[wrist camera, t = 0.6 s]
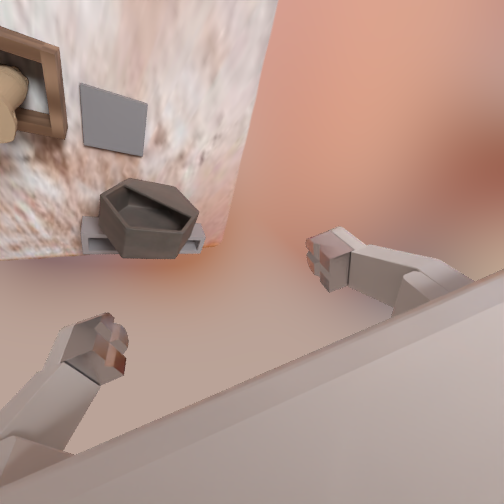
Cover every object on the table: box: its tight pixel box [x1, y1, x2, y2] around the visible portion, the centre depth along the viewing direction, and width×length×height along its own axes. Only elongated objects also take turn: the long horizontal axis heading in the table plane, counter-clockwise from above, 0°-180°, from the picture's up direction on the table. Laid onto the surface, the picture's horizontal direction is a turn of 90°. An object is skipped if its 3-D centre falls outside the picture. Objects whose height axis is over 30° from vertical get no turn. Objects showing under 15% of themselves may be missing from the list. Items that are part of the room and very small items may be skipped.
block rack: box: [81, 216, 206, 254], centre depth 61 cm, size 7×29×6 cm, turn 66°
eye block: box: [0, 26, 68, 140], centre depth 33 cm, size 12×12×5 cm
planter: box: [99, 178, 199, 259], centre depth 51 cm, size 17×8×21 cm
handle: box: [0, 64, 29, 143], centre depth 30 cm, size 5×6×15 cm
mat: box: [80, 83, 148, 156], centre depth 43 cm, size 10×10×1 cm
